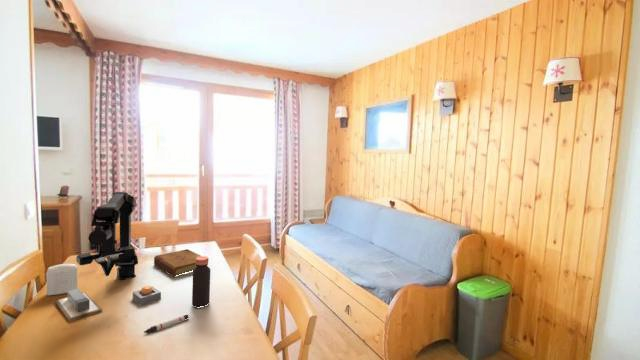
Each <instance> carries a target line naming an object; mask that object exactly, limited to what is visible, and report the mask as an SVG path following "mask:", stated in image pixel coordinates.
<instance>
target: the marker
mask: <svg viewBox="0 0 640 360" xmlns="http://www.w3.org/2000/svg"><path fill="white" fill-rule="evenodd" d="M187 318H190V317H189V314H185V315H181V316H178V317H176V318H173V319H169V320H167V321H164V322H161V323H159V324H155V325H153V326H150V328H148V329H146V330H144V331H143V333H144V334H149V333H154V332H159V331H161V330H163V328H164V329H166V328H169V327H172V326H174V325H173V324H175V323H177V324H179V323H178V322H180V321H183V320H185V319H187ZM183 322H184V321H183ZM180 323H181V322H180ZM171 325H172V326H171ZM175 325H176V324H175ZM168 326H169V327H168ZM160 329H161V330H160Z"/></svg>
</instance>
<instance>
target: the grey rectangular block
mask: <svg viewBox="0 0 640 360" xmlns="http://www.w3.org/2000/svg"><path fill="white" fill-rule="evenodd" d="M83 293H84V292H82V291H81V290H80V289H79V288H77V289H74V290H70V291H67V293H66V294H67V295H66V298H67V300H68V301H69V302H70V304H71V305H72V306H73V307H74V308H75V309H76V311H77V312H81V311H84V310H88V309H89V299H88V298H87V297H86V296H85V295H84V294H83Z"/></svg>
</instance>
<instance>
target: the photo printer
mask: <svg viewBox="0 0 640 360" xmlns="http://www.w3.org/2000/svg"><path fill="white" fill-rule="evenodd" d="M78 273H79V272H78V267H77V264H73V263H60V264H56V265H51V266H50V267H48V268H47V270H46V296H53V295H54V296H56V295H61V294H63V295H64V294H67V291H70V290H74V289H78Z"/></svg>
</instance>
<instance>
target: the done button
mask: <svg viewBox="0 0 640 360" xmlns="http://www.w3.org/2000/svg"><path fill="white" fill-rule="evenodd" d="M140 290H141V295H143V296H145V295H148V294H151V293H152V286H151V285H146V286H143V287H141V289H140Z"/></svg>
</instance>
